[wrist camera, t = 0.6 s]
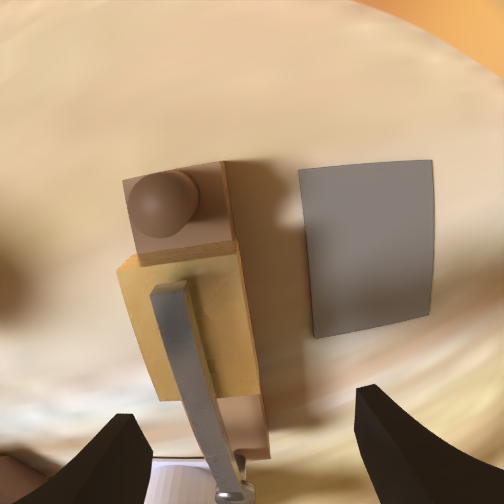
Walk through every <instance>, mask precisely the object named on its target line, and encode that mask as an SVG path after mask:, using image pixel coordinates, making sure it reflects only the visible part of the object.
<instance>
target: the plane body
mask: <svg viewBox="0 0 504 504" xmlns="http://www.w3.org/2000/svg"><path fill="white" fill-rule="evenodd" d="M122 182H123V188H124V193H125V199H126V204H127V209H128V214H129V219H130V223H131V228H132V233H133V237H134V242H135V246H136V250H137V254H142V253H149V252H156V251H162V250H169V249H175V248H182V247H189V246H196V245H202V244H209V243H216V242H223V241H230V240H236V234H235V228H234V222H233V215H232V209H231V202H230V196H229V189H228V183H227V176H226V170H225V163H224V161H220V162H213V163H207V164H202V165H196V166H190V167H185V168H179V169H174V170H169V171H164V172H159V173H154V174H149V175H144V176H140V177H135V178H131V179H126V180H122ZM259 383H260V380H259ZM217 401H218V405H219V408H220V412H221V415H222V418H223V422H224V425H225V428H226V432H227V435H228V438H229V441H230V444H231V448H232V451H233V454H241V455H243V456H245V457H246V461H255V460H265V459H271V457H270V445H269V433H268V425H267V420H266V414H265V408H264V403H263V397H262V391H261V386H260V394H257V395H248V396H238V397H228V398H217ZM182 404H183V406H184V403H183V401H182ZM184 409H185V412H186V414H187V411H186V408H185V406H184ZM187 417H188V419H189V416H188V414H187ZM189 422H190V419H189ZM190 425H191V427H192V424H191V422H190ZM192 430H193V432H194V429H193V427H192ZM194 435H195V437H196V434H195V432H194ZM196 440H197V442H198V439H197V437H196ZM198 444H199V442H198ZM199 447H200V444H199ZM200 449H201V447H200ZM201 452H202V454H203V451H202V449H201ZM203 456H204V454H203ZM204 459H205V461H206V458H205V456H204ZM206 463H207V461H206Z"/></svg>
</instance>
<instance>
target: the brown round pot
mask: <svg viewBox="0 0 504 504" xmlns="http://www.w3.org/2000/svg"><path fill="white" fill-rule="evenodd" d="M48 480H49V478H47V477H46V476H45V475H44V474H42V473H40V472H38V471H36V470H34V469H32V468H30V467H28V466H26V465H24V464H23V463H21V462H19V461H17V460H15V459H14V458H12V457H10V456H0V504H11V503H13V502H15V501H17V500H19V499H21V498H22V497H24V496H26V495H27V494H29V493H31V492H32V491H34V490H36V489H37V488H38V487H40V486H41V485H43V484H44V483H45V482H47V481H48Z"/></svg>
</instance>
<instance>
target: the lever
mask: <svg viewBox="0 0 504 504" xmlns="http://www.w3.org/2000/svg"><path fill="white" fill-rule="evenodd" d="M149 296H150V300H151V303H152V307H153V310H154V314H155V317H156V321H157V324H158V328H159V331H160V334H161V338H162V341H163V344H164V347H165V350H166V354H167V357H168V360H169V363H170V366H171V369H172V372H173V375H174V378H175V381H176V383H177V386H178V389H179V392H180V395H181V397H182V400H183V403H184V406H185V408H186V411H187V414H188V416H189V419H190V422H191V424H192V427H193V429H194V432H195V434H196V437H197V439H198V442H199V444H200V447H201V449H202V451H203V454H204V456H205V458H206V461H207V463H208V465H209V468H210V470H211V472H212V474H213V477H214V479H215V481H216V483H217V485H216V487H215V502H216V503H217V504H254V503H255V487H254V485H253V484H252V483H250V482H248V481H247V477H246V457H245V456H243V455H241V454H233V451H232V448H231V444H230V441H229V438H228V435H227V432H226V428H225V425H224V422H223V418H222V415H221V412H220V408H219V405H218V401H217V398H216V394H215V391H214V387H213V384H212V380H211V376H210V373H209V369H208V365H207V362H206V358H205V354H204V350H203V346H202V342H201V338H200V334H199V330H198V326H197V322H196V318H195V314H194V310H193V305H192V301H191V297H190V293H189V288H188V284H187V280H186V281H179V282H171V283H163V284H156V286H155V287H154V289H153V290H152V292H151V293H150V295H149Z"/></svg>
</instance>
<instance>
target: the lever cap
mask: <svg viewBox="0 0 504 504" xmlns="http://www.w3.org/2000/svg"><path fill="white" fill-rule="evenodd" d="M116 273H117V276H118V280H119V284H120V287H121V291H122V294H123V298H124V301H125V304H126V308H127V311H128V314H129V317H130V320H131V323H132V327H133V330H134V333H135V336H136V339H137V341H138V344H139V347H140V350H141V353H142V356H143V359H144V361H145V364H146V367H147V369H148V372H149V375H150V377H151V380H152V382H153V385H154V388H155V390H156V393H157V395H158V398H159V400H160V401H183V400H182V397H181V395H180V392H179V389H178V386H177V383H176V381H175V378H174V375H173V372H172V369H171V366H170V363H169V360H168V357H167V354H166V350H165V347H164V344H163V341H162V338H161V334H160V331H159V328H158V324H157V321H156V317H155V314H154V310H153V307H152V303H151V300H150V296H149V295H150V293H151V292H152V290H153V289H154V287H155V286H156V284H163V283H171V282H179V281H186V280H187V284H188V288H189V293H190V297H191V301H192V305H193V310H194V314H195V318H196V322H197V326H198V330H199V334H200V338H201V342H202V346H203V350H204V354H205V358H206V362H207V365H208V369H209V373H210V376H211V380H212V384H213V387H214V391H215V394H216V398H228V397H238V396H248V395H257V394H260V383H259V368H258V362H257V356H256V350H255V344H254V338H253V332H252V326H251V319H250V313H249V307H248V301H247V295H246V289H245V283H244V276H243V270H242V264H241V258H240V251H239V245H238V239H237V240H230V241H223V242H216V243H209V244H202V245H196V246H189V247H182V248H175V249H169V250H162V251H156V252H149V253H142V254H136V255H132V256H131V257H130V258H129V259H128V260H127V261H126V262H125V263H124V264H123V265H122V266H121V267H120V268H118V269H117V270H116Z"/></svg>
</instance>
